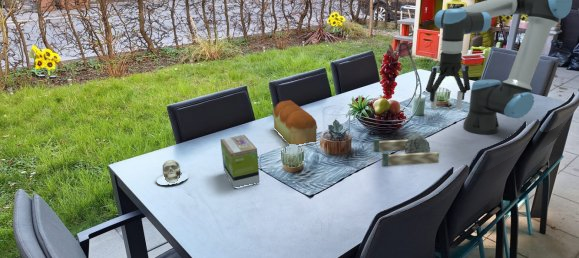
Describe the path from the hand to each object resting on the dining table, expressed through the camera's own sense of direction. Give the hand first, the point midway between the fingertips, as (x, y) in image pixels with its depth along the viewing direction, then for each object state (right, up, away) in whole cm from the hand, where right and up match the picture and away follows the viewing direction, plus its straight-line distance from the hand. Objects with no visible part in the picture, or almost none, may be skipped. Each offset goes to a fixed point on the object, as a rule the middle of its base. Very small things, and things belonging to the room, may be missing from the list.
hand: (446, 108), depth 167 cm
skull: (-106, -28, -5) cm, 110 cm away
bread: (-59, -12, +32) cm, 68 cm away
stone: (-10, -19, +7) cm, 22 cm away
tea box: (-80, -27, -7) cm, 85 cm away
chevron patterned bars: (-15, -19, +6) cm, 25 cm away
